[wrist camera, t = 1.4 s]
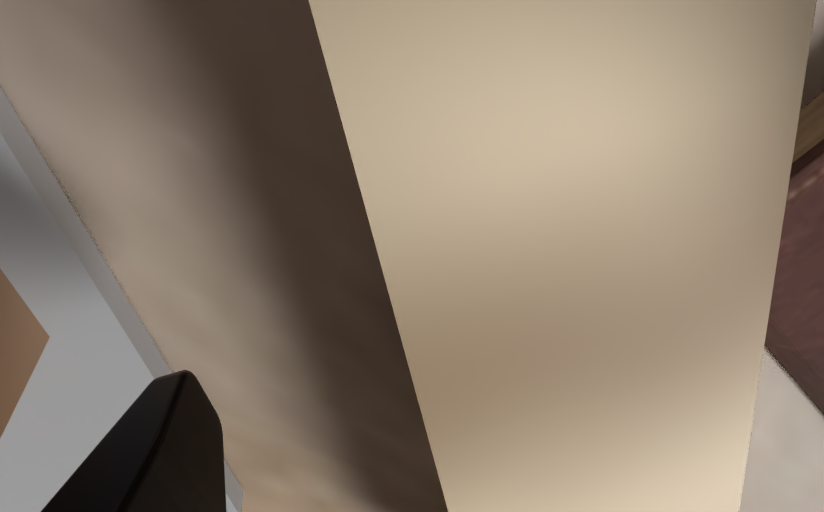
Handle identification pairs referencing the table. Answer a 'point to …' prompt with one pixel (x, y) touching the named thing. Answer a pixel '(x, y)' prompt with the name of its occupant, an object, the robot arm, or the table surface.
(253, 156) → the table surface
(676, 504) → the beech bar
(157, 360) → the fulcrum stand
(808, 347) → the notebook
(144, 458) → the robot arm
